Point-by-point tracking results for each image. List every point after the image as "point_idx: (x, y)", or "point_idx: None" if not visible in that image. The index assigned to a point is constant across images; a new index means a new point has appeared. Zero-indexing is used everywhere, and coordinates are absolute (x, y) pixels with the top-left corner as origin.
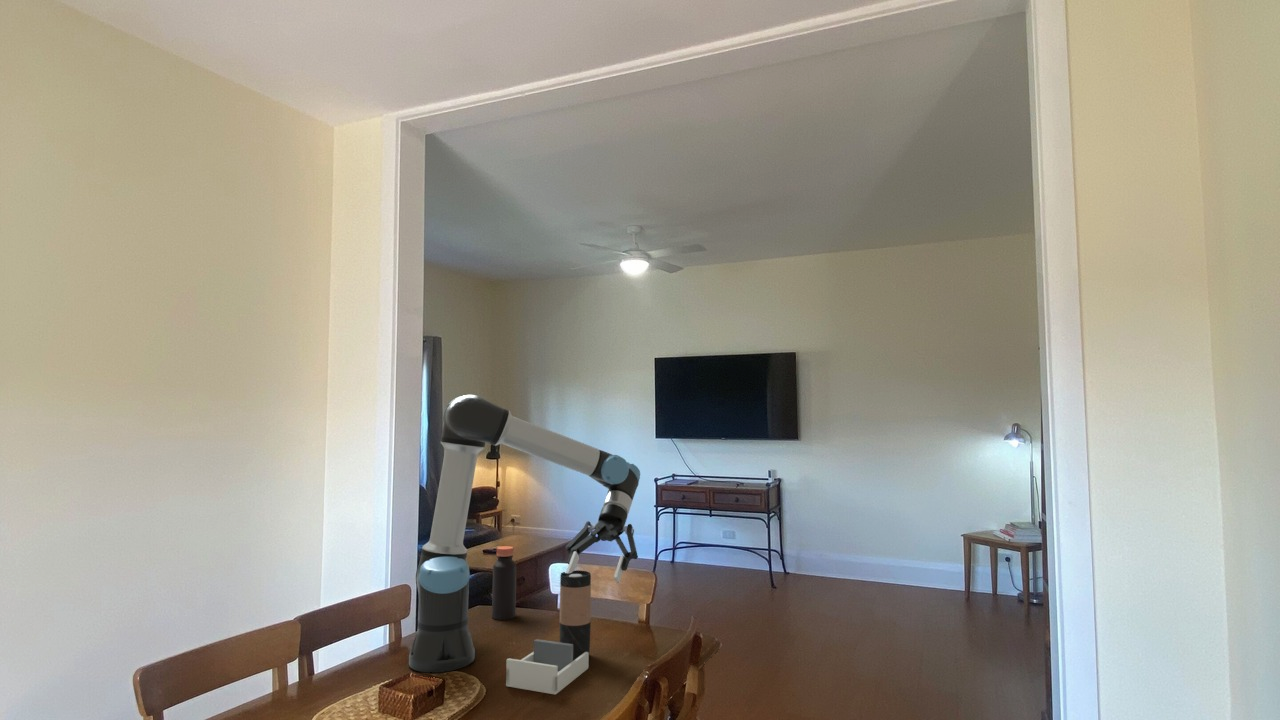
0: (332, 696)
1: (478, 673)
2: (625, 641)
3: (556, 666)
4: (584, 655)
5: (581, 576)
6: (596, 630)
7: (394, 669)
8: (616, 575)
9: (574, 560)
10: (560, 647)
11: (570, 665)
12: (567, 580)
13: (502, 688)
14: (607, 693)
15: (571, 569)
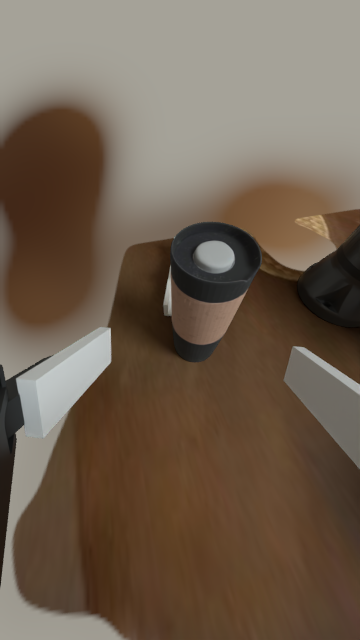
0: (337, 227)
1: (271, 279)
2: (135, 442)
3: (174, 237)
4: (165, 295)
5: (195, 252)
6: (214, 508)
7: None
8: (98, 329)
9: (337, 397)
10: None
11: (170, 267)
12: (217, 229)
13: None
14: (128, 268)
15: (303, 370)
